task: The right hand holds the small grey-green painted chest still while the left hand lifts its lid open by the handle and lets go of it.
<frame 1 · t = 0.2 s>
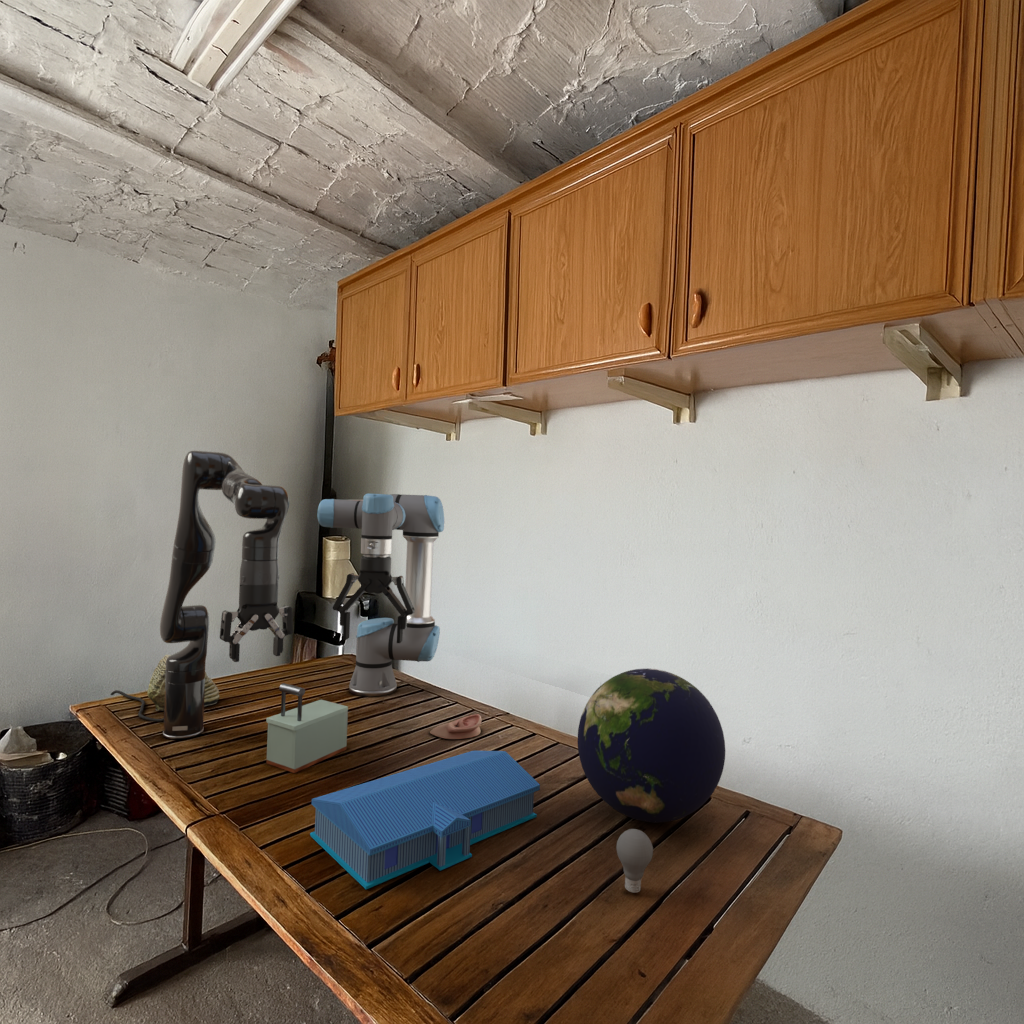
left hand: (256, 658, 132), 29 cm above the table, tool pointing down, fingers open, 8 cm apart
right hand: (372, 640, 158), 28 cm above the table, tool pointing down, fingers open, 13 cm apart
fossil: (183, 706, 185), on the table
model building: (432, 829, 123), on the table
light bulb: (632, 891, 106), on the table
lid: (309, 698, 154), point 14 cm above the table, hinge at 0.0°
anatomical model: (455, 732, 174), on the table
chest: (307, 756, 154), on the table
globe: (646, 814, 132), on the table
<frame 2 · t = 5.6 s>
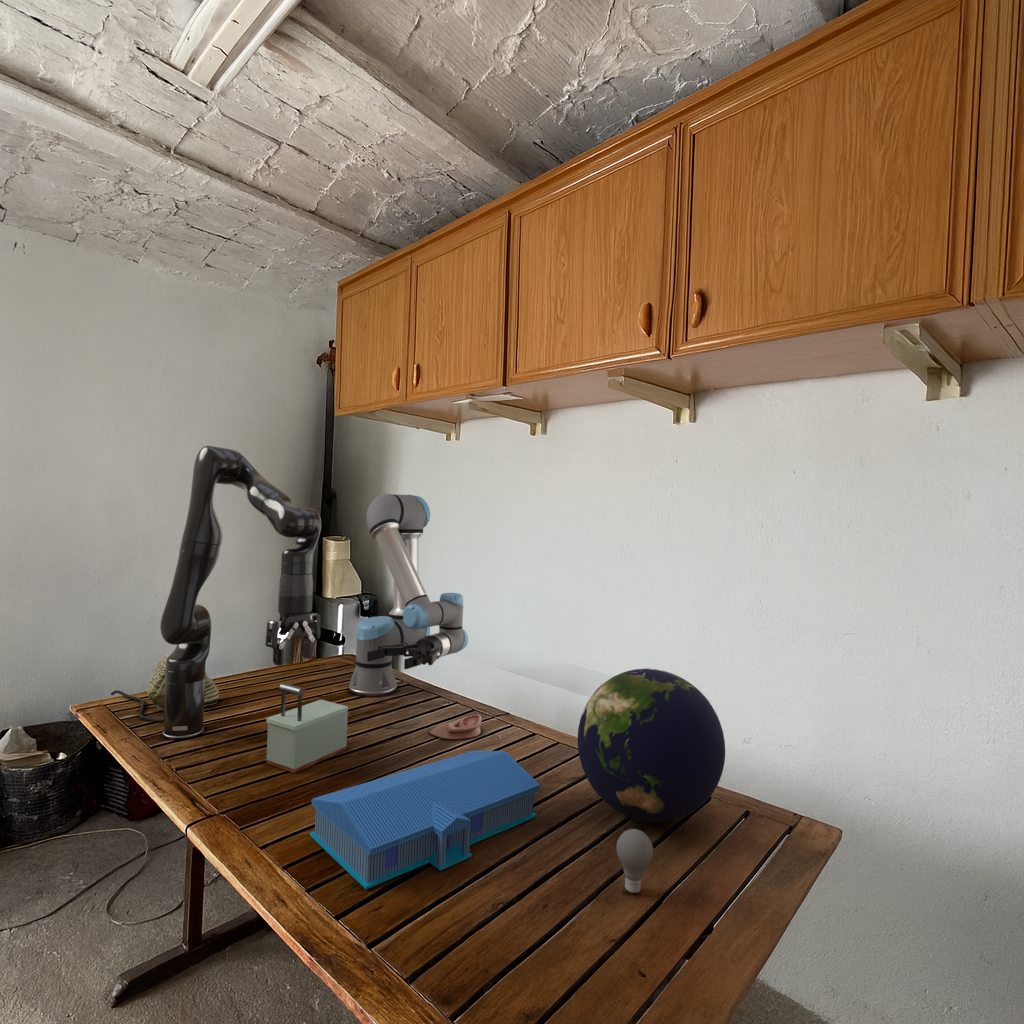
left hand: (293, 661, 149), 24 cm above the table, tool pointing down, fingers open, 8 cm apart
right hand: (386, 660, 179), 18 cm above the table, tool horizontal, fingers open, 13 cm apart
nothing on the table moved.
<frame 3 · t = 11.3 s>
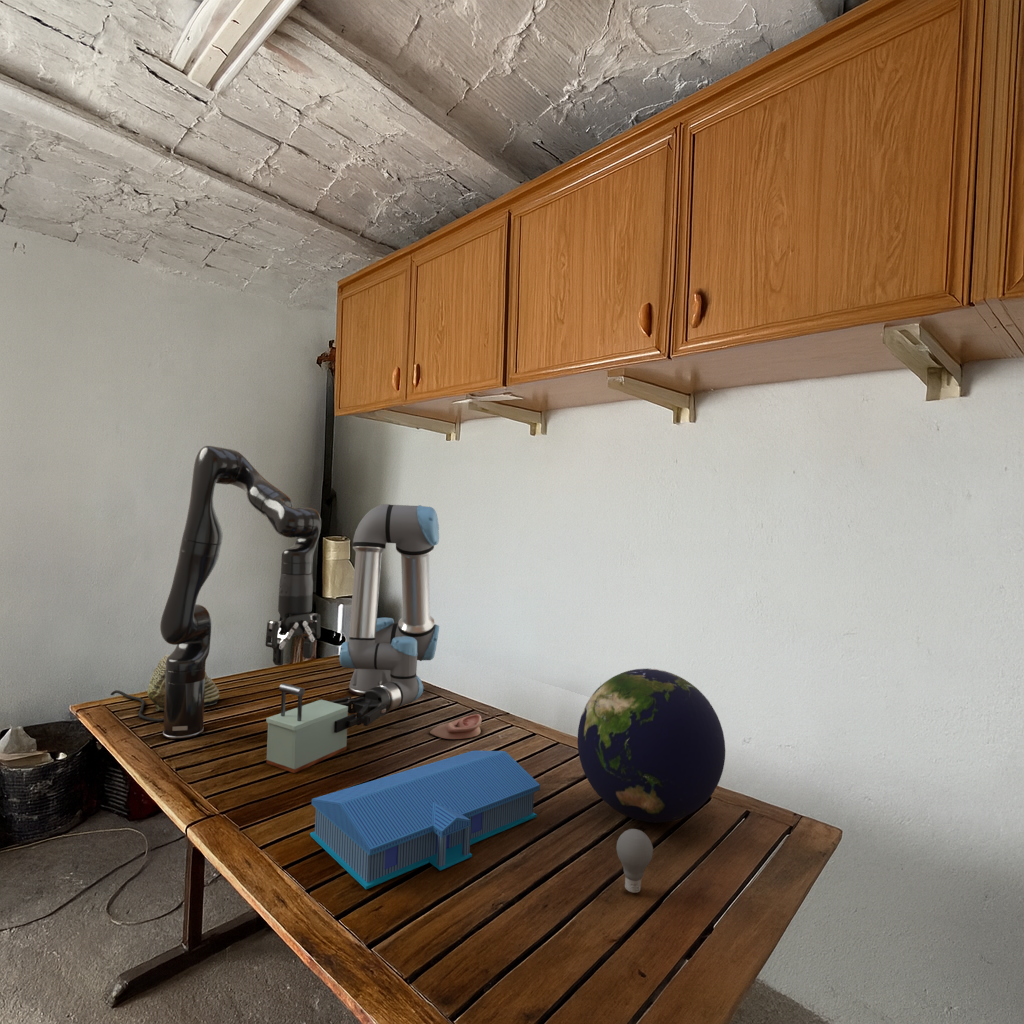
left hand: (293, 661, 149), 24 cm above the table, tool pointing down, fingers open, 8 cm apart
right hand: (320, 722, 157), 7 cm above the table, tool horizontal, fingers closed on chest, 9 cm apart
chest: (307, 756, 154), on the table, touching right hand
everything else where it was.
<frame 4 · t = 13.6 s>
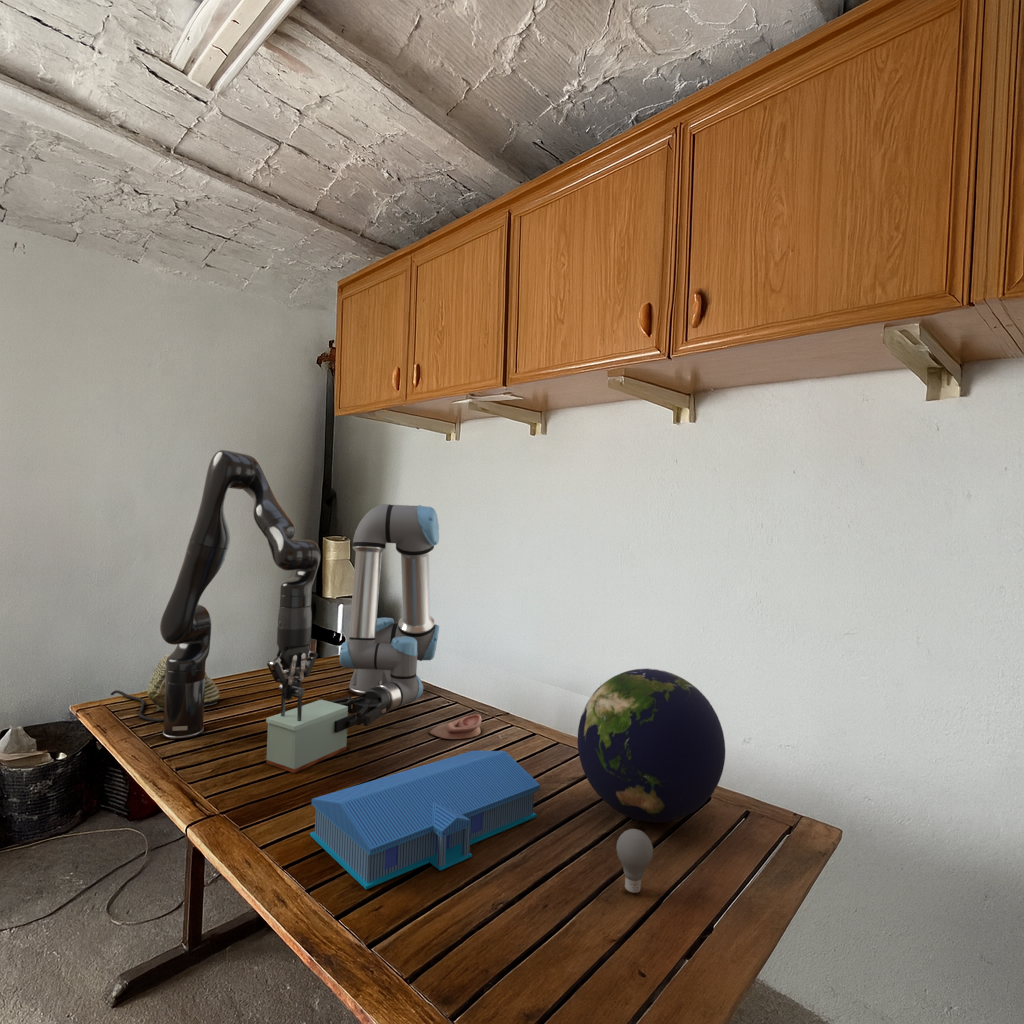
left hand: (291, 697, 149), 16 cm above the table, tool pointing down, fingers closed on lid, 2 cm apart
right hand: (320, 722, 157), 7 cm above the table, tool horizontal, fingers closed on chest, 9 cm apart
lid: (309, 698, 154), point 14 cm above the table, hinge at -0.1°, touching left hand
chest: (307, 756, 154), on the table, touching right hand
everything else where it was.
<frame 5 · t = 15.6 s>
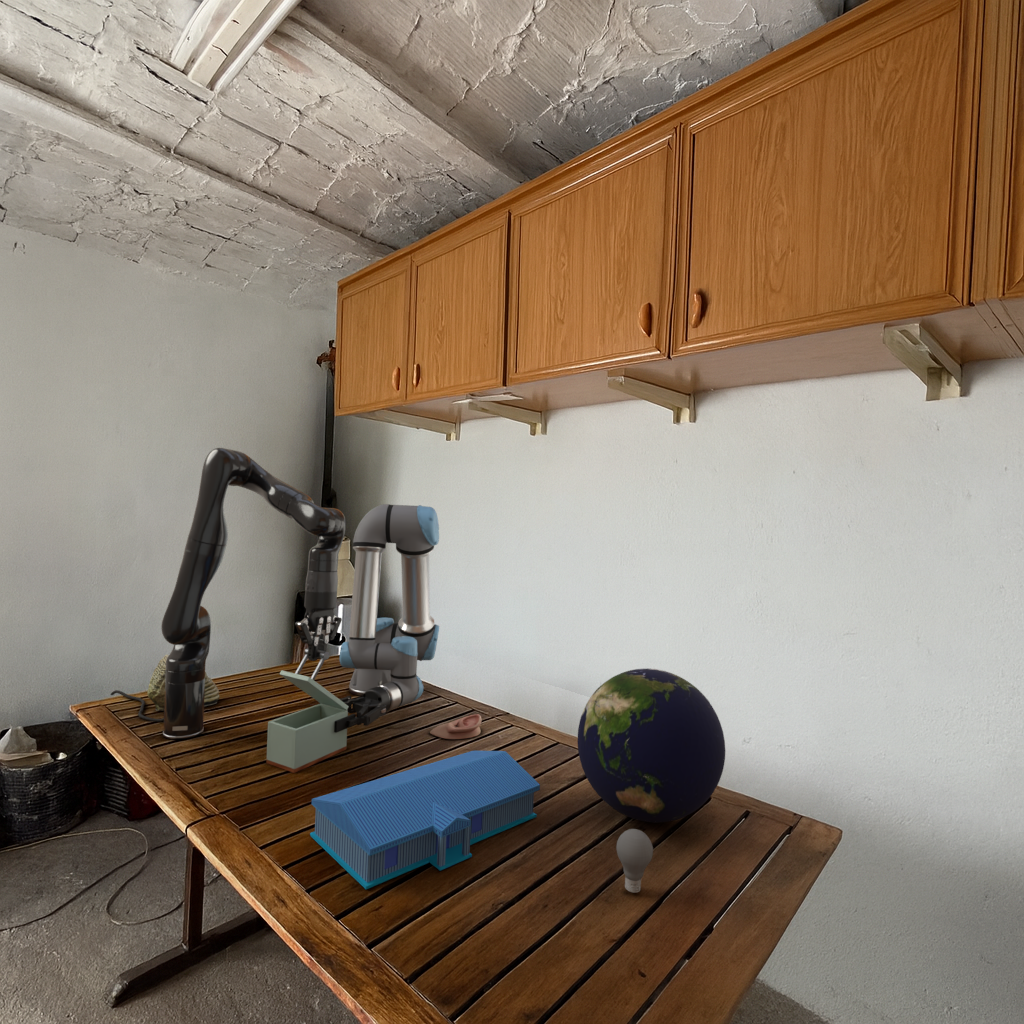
left hand: (316, 659, 155), 23 cm above the table, tool pointing down, fingers closed on lid, 2 cm apart
right hand: (320, 722, 157), 7 cm above the table, tool horizontal, fingers closed on chest, 9 cm apart
lid: (322, 676, 157), point 19 cm above the table, hinge at 37.9°, touching left hand
chest: (307, 756, 154), on the table, touching right hand
everything else where it was.
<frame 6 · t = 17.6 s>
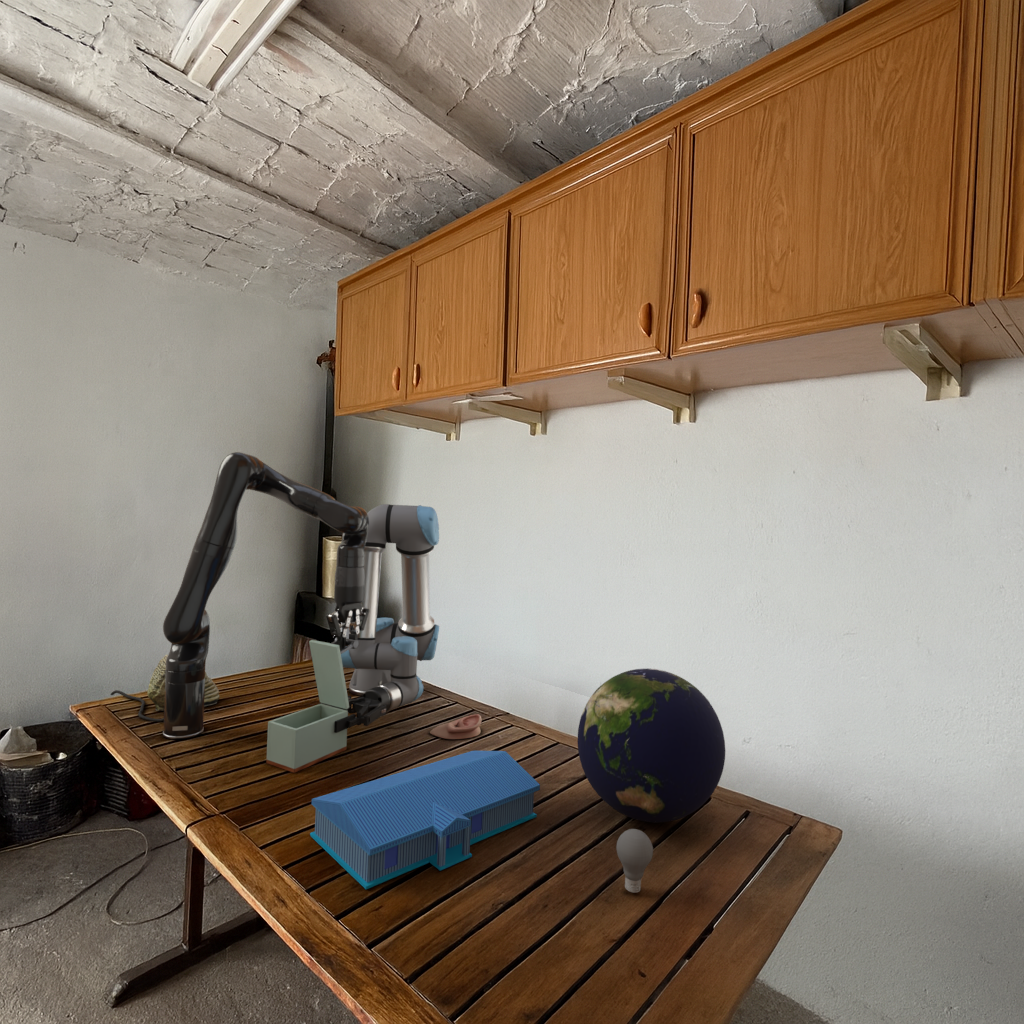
left hand: (347, 649, 164), 24 cm above the table, tool pointing down, fingers open, 3 cm apart
right hand: (320, 722, 157), 7 cm above the table, tool horizontal, fingers closed on chest, 9 cm apart
lid: (340, 667, 162), point 20 cm above the table, hinge at 74.9°
chest: (307, 756, 154), on the table, touching right hand
everything else where it was.
when the right hand's fingers open (7 cm above the table, at t = 21.5 s): chest stays where it is, on the table.
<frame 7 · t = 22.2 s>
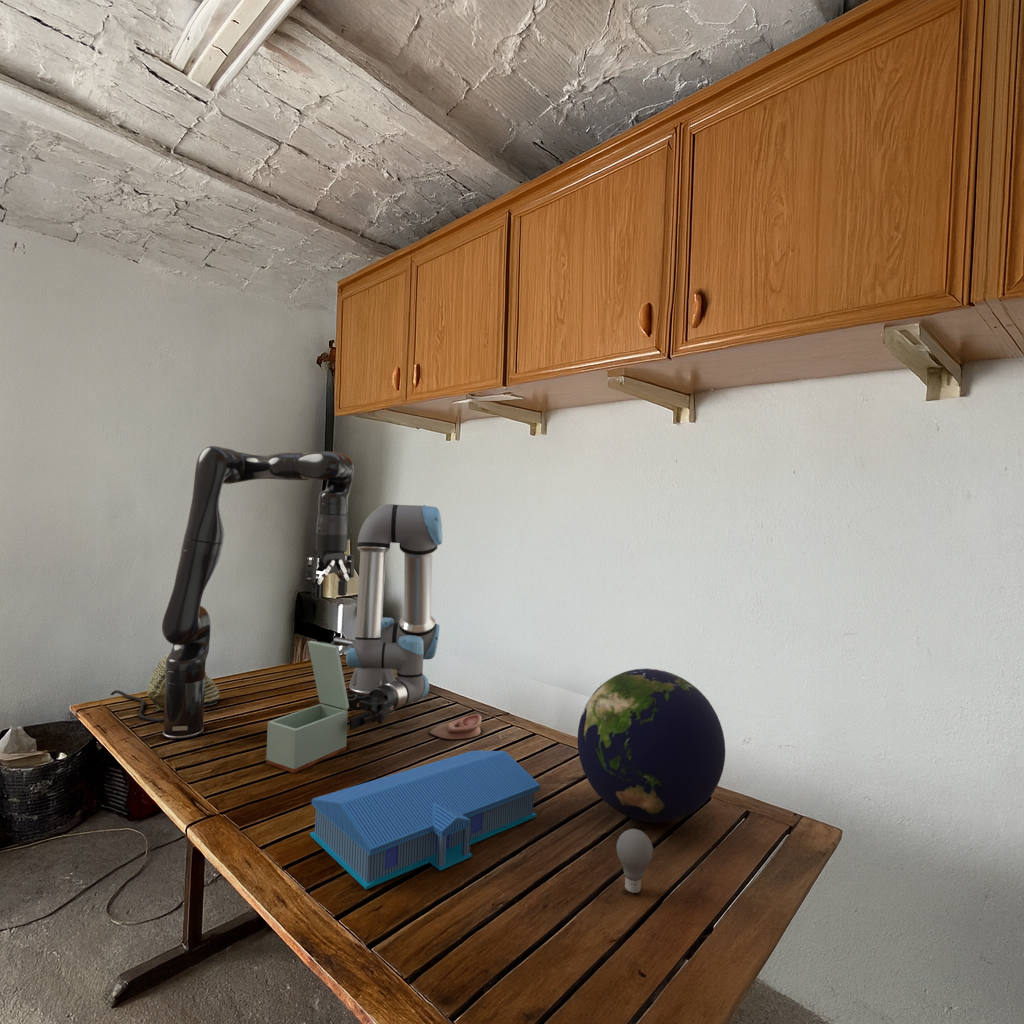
left hand: (329, 597, 158), 38 cm above the table, tool pointing down, fingers open, 8 cm apart
right hand: (330, 718, 160), 7 cm above the table, tool horizontal, fingers open, 13 cm apart
lid: (339, 667, 162), point 20 cm above the table, hinge at 73.6°
chest: (307, 756, 154), on the table
everything else where it was.
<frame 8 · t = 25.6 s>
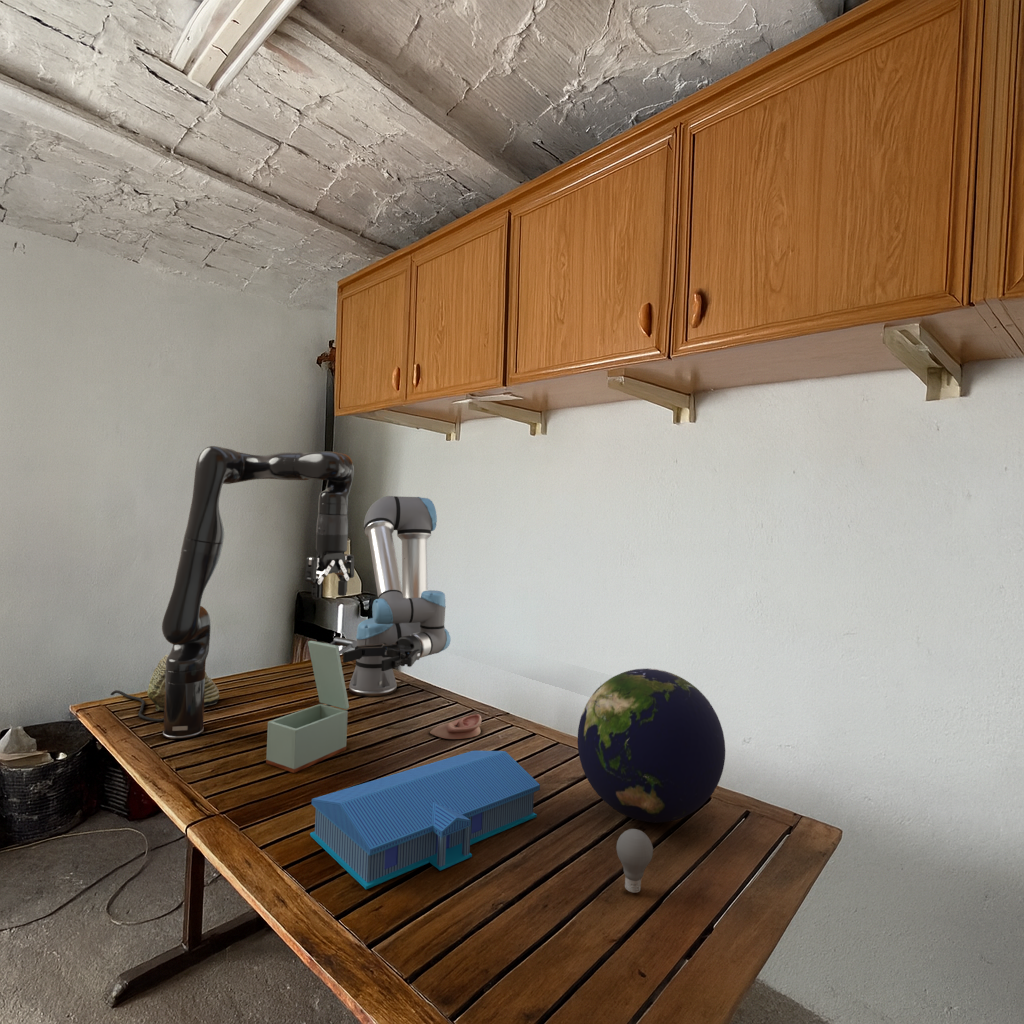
left hand: (329, 597, 158), 38 cm above the table, tool pointing down, fingers open, 8 cm apart
right hand: (362, 661, 170), 19 cm above the table, tool horizontal, fingers open, 13 cm apart
nothing on the table moved.
at the end: lid at +74° (first picture: +0°); the left hand is holding nothing; the right hand is holding nothing; chest tilted 0°; chest never tilted more than 1° during the clip; chest moved 0.1 cm from its start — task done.
